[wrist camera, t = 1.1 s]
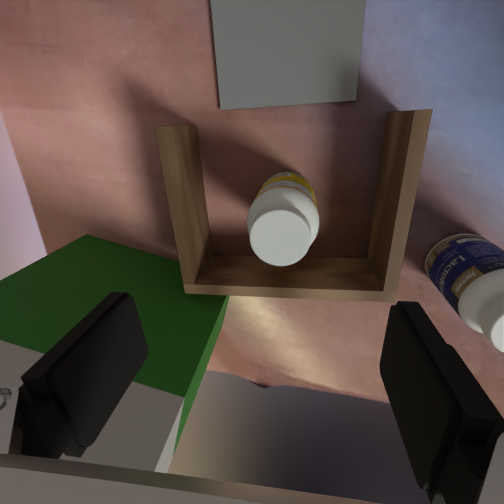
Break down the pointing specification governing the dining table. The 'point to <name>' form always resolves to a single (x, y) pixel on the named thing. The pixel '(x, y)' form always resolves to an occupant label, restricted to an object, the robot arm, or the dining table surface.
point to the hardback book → (154, 327)
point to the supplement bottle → (283, 219)
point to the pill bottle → (471, 282)
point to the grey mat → (287, 51)
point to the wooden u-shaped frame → (308, 268)
